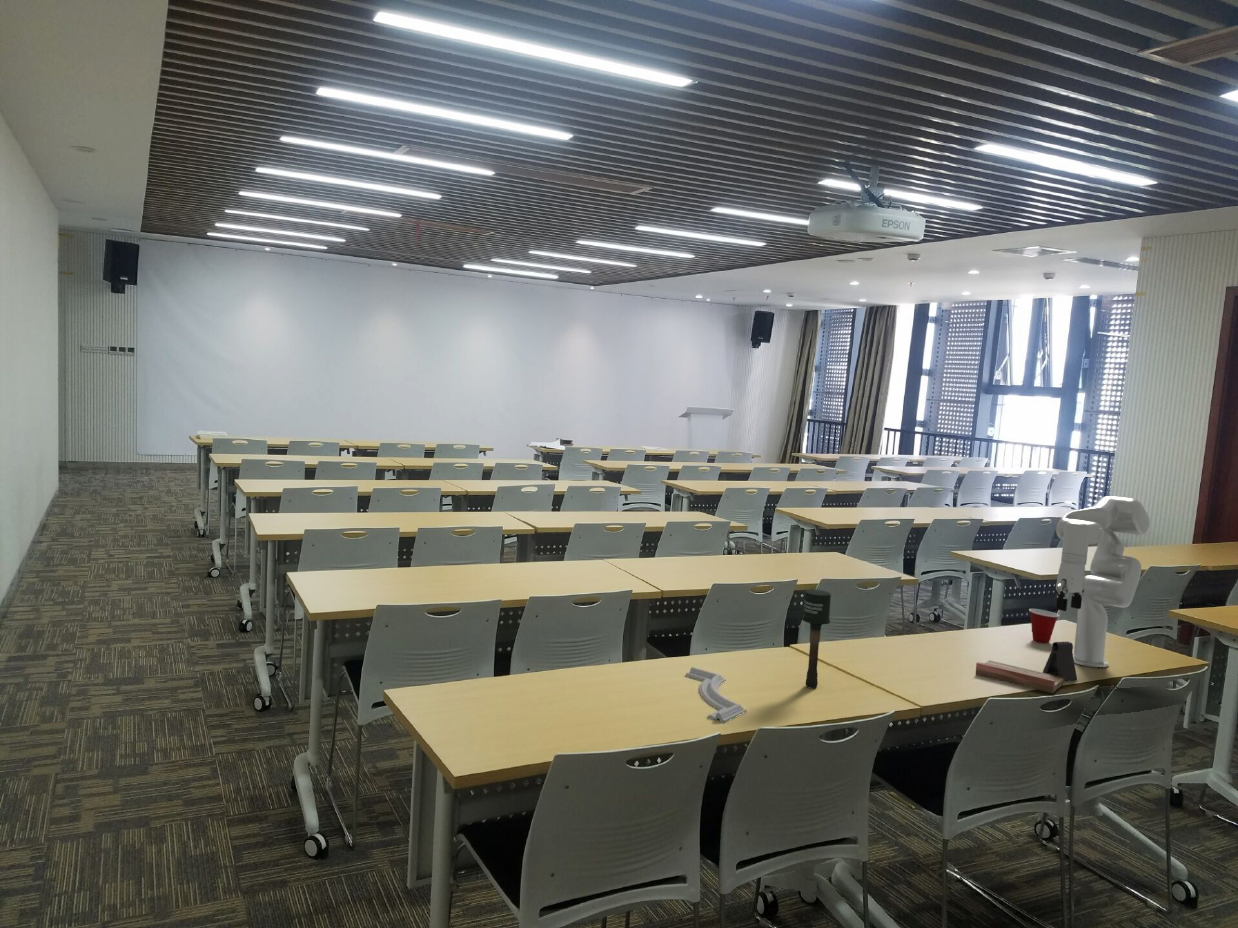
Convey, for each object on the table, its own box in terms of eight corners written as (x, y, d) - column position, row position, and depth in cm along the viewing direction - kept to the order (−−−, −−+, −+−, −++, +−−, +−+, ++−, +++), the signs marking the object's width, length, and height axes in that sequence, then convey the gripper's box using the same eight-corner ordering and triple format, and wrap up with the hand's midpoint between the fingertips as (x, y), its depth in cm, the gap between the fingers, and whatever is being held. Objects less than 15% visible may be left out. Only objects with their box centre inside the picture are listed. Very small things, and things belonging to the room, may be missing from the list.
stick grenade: (792, 683, 272) (798, 589, 270) (815, 681, 275) (822, 588, 273) (807, 692, 264) (813, 596, 262) (830, 690, 267) (837, 595, 265)
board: (988, 665, 302) (989, 654, 301) (1063, 683, 286) (1065, 671, 286) (975, 674, 291) (976, 662, 291) (1052, 693, 275) (1053, 680, 275)
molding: (683, 674, 278) (683, 665, 277) (720, 674, 279) (720, 665, 279) (710, 725, 236) (710, 714, 235) (753, 724, 237) (754, 714, 237)
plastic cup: (1063, 645, 333) (1066, 615, 332) (1037, 645, 332) (1040, 614, 331) (1045, 637, 344) (1048, 608, 343) (1020, 637, 342) (1023, 607, 341)
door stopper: (1077, 680, 290) (1080, 645, 289) (1062, 681, 288) (1066, 646, 287) (1056, 672, 299) (1059, 638, 298) (1042, 672, 297) (1045, 638, 296)
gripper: (1075, 555, 298) (1070, 604, 299) (1049, 557, 288) (1044, 608, 289) (1097, 559, 292) (1092, 609, 293) (1072, 561, 282) (1066, 613, 283)
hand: (1068, 609), depth 291 cm, fingers open, 9 cm apart
